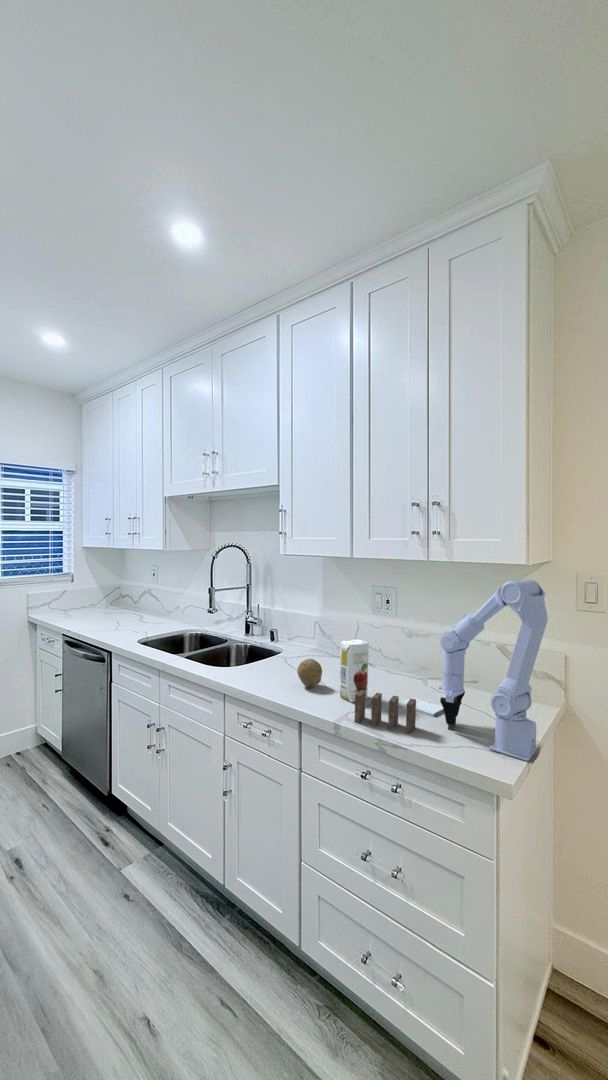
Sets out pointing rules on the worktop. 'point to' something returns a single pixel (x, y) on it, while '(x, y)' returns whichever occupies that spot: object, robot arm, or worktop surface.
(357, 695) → the domino
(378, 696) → the domino
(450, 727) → the domino
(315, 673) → the brown round lump
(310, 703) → the worktop surface
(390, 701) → the domino
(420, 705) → the external hard drive
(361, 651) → the juice carton
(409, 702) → the domino
